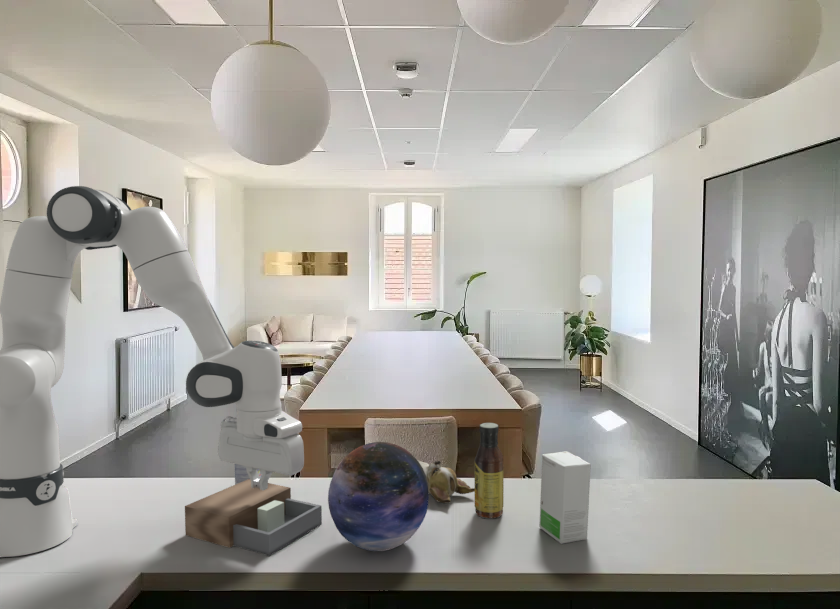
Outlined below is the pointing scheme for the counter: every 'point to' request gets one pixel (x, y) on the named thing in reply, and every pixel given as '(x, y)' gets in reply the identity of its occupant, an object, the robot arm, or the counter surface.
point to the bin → (280, 529)
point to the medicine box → (242, 473)
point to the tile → (270, 516)
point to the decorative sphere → (378, 496)
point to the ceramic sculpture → (443, 482)
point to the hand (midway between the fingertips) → (259, 488)
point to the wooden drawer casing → (229, 511)
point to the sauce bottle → (489, 474)
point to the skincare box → (564, 496)
